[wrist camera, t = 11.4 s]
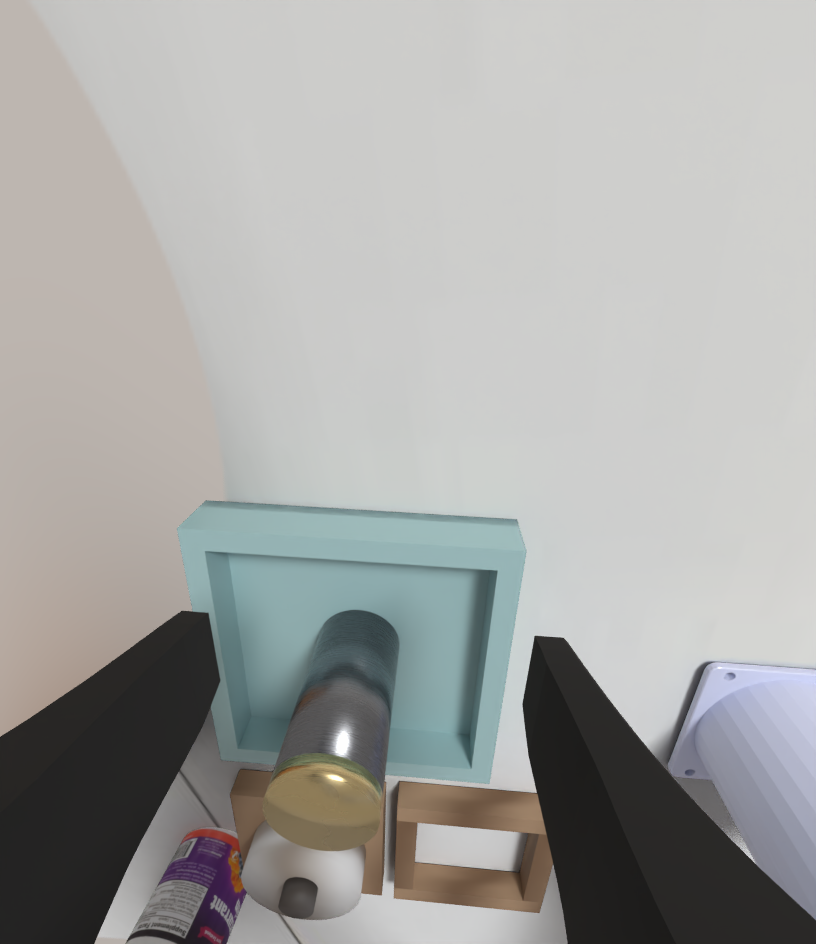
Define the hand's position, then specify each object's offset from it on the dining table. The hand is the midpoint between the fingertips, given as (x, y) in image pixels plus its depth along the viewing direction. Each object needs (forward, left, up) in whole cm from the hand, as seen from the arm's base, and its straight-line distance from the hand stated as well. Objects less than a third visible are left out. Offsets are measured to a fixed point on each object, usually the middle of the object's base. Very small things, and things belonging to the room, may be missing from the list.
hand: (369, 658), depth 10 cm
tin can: (+2, +9, -10) cm, 13 cm away
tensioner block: (0, +25, -10) cm, 27 cm away
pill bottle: (+12, +29, -11) cm, 34 cm away
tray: (+2, +9, -10) cm, 14 cm away
